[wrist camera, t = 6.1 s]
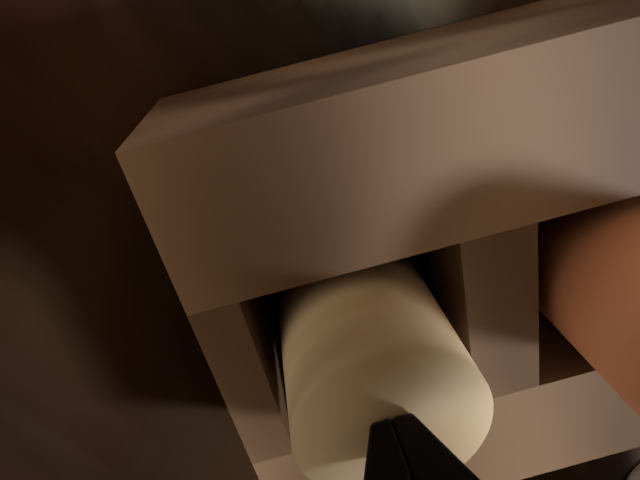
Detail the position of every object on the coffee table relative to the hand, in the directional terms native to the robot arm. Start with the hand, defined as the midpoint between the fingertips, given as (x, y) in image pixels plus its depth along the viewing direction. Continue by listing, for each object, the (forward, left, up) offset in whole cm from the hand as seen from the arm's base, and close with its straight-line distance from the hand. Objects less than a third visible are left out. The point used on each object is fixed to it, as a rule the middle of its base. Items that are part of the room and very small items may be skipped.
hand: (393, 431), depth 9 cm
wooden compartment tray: (+7, 0, -7) cm, 10 cm away
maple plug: (0, 0, -5) cm, 5 cm away
